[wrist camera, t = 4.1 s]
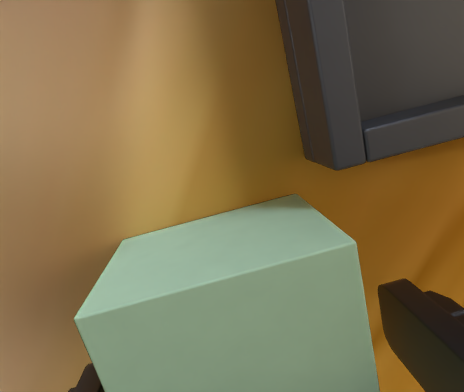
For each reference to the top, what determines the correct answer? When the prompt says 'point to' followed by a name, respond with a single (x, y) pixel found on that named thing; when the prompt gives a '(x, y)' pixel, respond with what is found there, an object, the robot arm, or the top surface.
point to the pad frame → (374, 76)
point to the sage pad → (233, 307)
